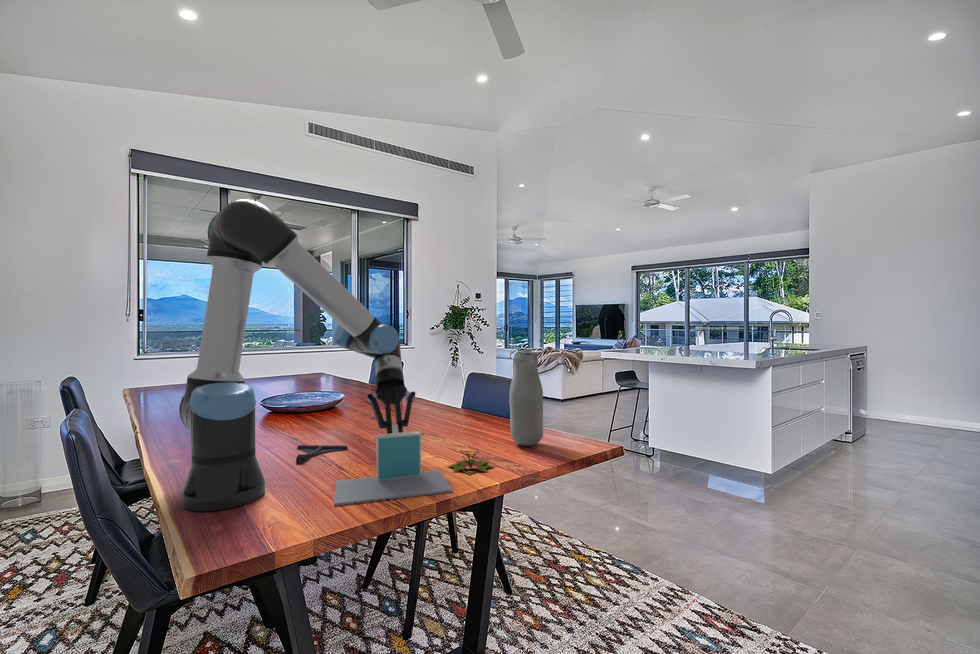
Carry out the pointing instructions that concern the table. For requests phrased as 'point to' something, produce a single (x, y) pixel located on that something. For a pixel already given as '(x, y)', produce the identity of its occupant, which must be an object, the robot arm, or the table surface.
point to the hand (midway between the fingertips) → (396, 450)
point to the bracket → (316, 451)
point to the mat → (389, 488)
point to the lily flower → (470, 464)
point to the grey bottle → (526, 400)
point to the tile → (398, 455)
